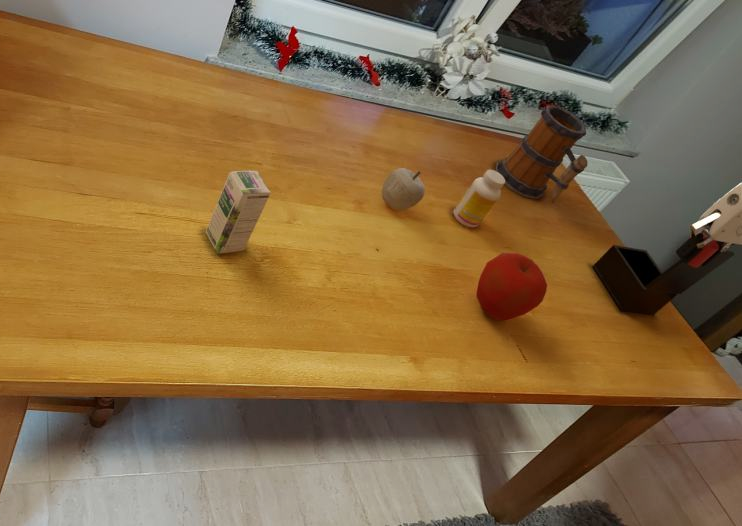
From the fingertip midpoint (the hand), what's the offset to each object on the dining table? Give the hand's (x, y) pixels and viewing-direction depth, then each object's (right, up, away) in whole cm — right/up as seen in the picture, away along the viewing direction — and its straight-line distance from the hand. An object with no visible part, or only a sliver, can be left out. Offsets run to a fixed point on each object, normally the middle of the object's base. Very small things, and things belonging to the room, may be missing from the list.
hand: (690, 258), depth 128 cm
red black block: (0, 0, 0) cm, 0 cm away
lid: (+10, -2, +18) cm, 21 cm away
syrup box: (-87, +3, -5) cm, 87 cm away
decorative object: (-52, +12, +23) cm, 58 cm away
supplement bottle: (-34, +9, +30) cm, 46 cm away
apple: (-35, -10, +9) cm, 38 cm away
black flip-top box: (+3, -7, +33) cm, 34 cm away
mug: (-13, +19, +51) cm, 56 cm away
